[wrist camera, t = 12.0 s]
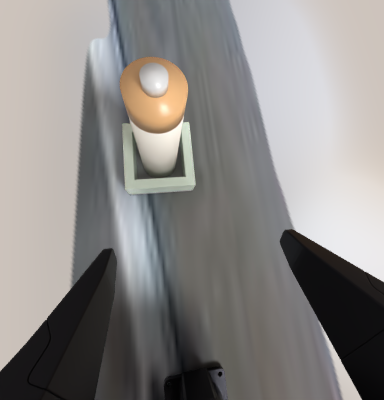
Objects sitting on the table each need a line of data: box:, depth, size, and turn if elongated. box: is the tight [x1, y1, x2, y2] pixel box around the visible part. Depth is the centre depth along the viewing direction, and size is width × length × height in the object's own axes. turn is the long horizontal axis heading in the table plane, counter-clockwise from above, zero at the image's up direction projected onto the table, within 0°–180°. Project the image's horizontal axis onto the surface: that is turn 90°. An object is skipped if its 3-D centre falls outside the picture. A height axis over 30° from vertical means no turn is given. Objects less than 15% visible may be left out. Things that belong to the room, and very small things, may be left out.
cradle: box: [122, 122, 196, 195], centre depth 23 cm, size 8×8×3 cm
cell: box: [120, 57, 188, 178], centre depth 17 cm, size 4×4×14 cm
